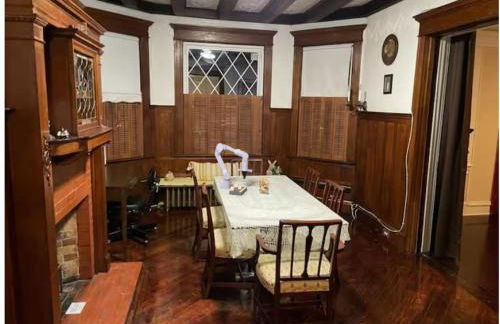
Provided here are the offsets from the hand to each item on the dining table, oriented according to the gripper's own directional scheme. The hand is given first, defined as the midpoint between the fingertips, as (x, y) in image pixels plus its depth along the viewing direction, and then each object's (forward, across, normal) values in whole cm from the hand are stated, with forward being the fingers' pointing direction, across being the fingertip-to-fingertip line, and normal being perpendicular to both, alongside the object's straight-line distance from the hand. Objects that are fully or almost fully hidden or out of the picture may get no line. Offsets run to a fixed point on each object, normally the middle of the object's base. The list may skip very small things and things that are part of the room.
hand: (244, 178), depth 358 cm
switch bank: (+9, -1, -17) cm, 19 cm away
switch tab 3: (+6, +1, -17) cm, 18 cm away
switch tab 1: (+6, -5, -24) cm, 25 cm away
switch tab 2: (+6, -5, -10) cm, 13 cm away
